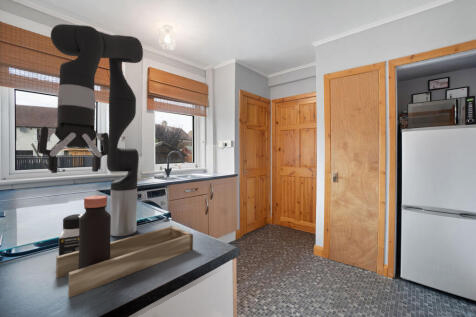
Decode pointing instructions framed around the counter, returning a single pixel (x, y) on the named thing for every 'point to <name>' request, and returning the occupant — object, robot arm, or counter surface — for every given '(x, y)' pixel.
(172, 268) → the counter surface
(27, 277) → the counter surface
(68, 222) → the medicine bottle
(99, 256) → the vinegar
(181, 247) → the u rest
